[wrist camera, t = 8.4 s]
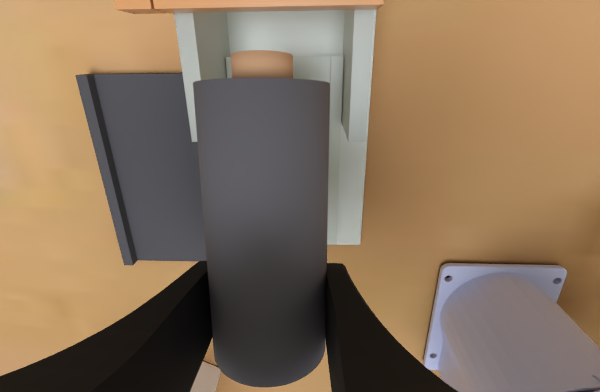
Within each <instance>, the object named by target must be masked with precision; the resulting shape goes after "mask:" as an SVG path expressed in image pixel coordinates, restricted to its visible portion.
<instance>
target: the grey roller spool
mask: <svg viewBox="0 0 600 392" xmlns="http://www.w3.org/2000/svg"><path fill="white" fill-rule="evenodd" d="M231 70H232V78H223V79H208V80H200V81H195V82H193V91H194V104H195V117H196V130H197V142H198V155H199V168H200V181H201V193H202V206H203V219H204V232H205V244H206V257H207V270H208V283H209V295H210V308H211V321H212V334H213V347H214V357H215V361H216V363H217V366H218V367H219V369H220V370H221V371H222V372H223V373H224V374H225V375H226V376H227V377H229V378H230V379H232V380H234V381H236V382H238V383H241V384H244V385H248V386H253V387H276V386H281V385H286V384H289V383H292V382H295V381H297V380H299V379H301V378H303V377H305V376H306V375H308V374H309V373H310V372H312V371H313V370H314V369H315V368H316V367H317V366H318V364H319V363H320V362H321V360H322V358H323V355H324V352H325V316H326V270H327V225H328V170H329V115H330V83H328V82H325V81H318V80H308V79H293V55H292V54H290V53H286V52H281V51H270V50H248V51H239V52H234V53H232V54H231Z"/></svg>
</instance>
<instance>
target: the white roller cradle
mask: <svg viewBox="0 0 600 392" xmlns="http://www.w3.org/2000/svg"><path fill="white" fill-rule="evenodd" d="M174 16H175V23H176V31H177V38H178V45H179V52H180V59H181V67H182V74H183V81H184V88H185V95H186V102H187V110H188V117H189V124H190V131H191V138H192V142H197V130H196V117H195V104H194V91H193V82H195V81H200V80H208V79H223V78H232V70H231V54H232V53H234V52H239V51H248V50H270V51H281V52H286V53H290V54H292V55H293V79H308V80H318V81H325V82H328V83H330V115H329V170H328V225H327V245H360V240H361V225H362V211H363V196H364V182H365V167H366V153H367V138H368V124H369V109H370V95H371V80H372V65H373V51H374V36H375V22H376V9H369V10H315V11H261V12H207V13H174Z"/></svg>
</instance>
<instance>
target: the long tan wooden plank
mask: <svg viewBox="0 0 600 392" xmlns="http://www.w3.org/2000/svg"><path fill="white" fill-rule="evenodd" d="M383 1H384V0H114V3H115V8H116V10H120V11H124V12H129V13H133V14H153V13H207V12H261V11H315V10H369V9H378V8H379V7H381V6H382V5H383Z"/></svg>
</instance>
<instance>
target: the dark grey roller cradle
mask: <svg viewBox="0 0 600 392" xmlns="http://www.w3.org/2000/svg"><path fill="white" fill-rule="evenodd" d="M76 79H77V83H78V87H79V91H80V95H81V99H82V103H83V106H84V110H85V114H86V118H87V122H88V126H89V130H90V134H91V138H92V141H93V145H94V149H95V153H96V157H97V161H98V165H99V169H100V173H101V176H102V180H103V184H104V188H105V192H106V196H107V200H108V204H109V207H110V211H111V215H112V219H113V223H114V227H115V231H116V235H117V239H118V242H119V246H120V250H121V254H122V258H123V262H124V265H134V264H135V262H136V261H137V260H155V261H207V257H206V244H205V232H204V219H203V206H202V193H201V181H200V168H199V155H198V142H192V138H191V131H190V124H189V117H188V110H187V102H186V95H185V88H184V81H183V74H182V73H147V74H84V75H76Z"/></svg>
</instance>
